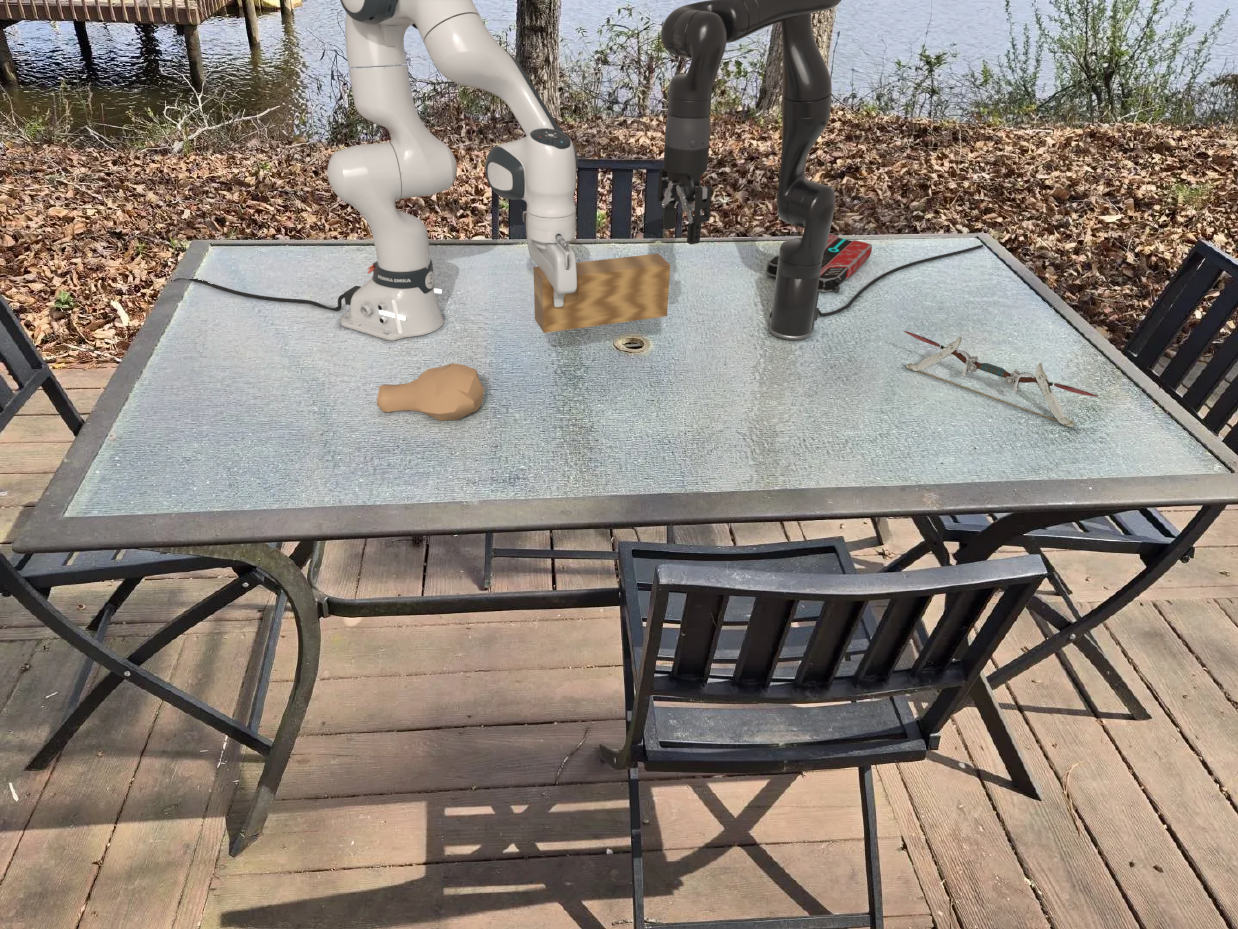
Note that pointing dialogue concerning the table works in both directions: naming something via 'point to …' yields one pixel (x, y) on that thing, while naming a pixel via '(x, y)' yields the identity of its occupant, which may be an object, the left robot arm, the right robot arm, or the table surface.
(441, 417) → the squash
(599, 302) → the box
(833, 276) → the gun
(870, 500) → the table surface
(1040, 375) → the bow
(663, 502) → the table surface
